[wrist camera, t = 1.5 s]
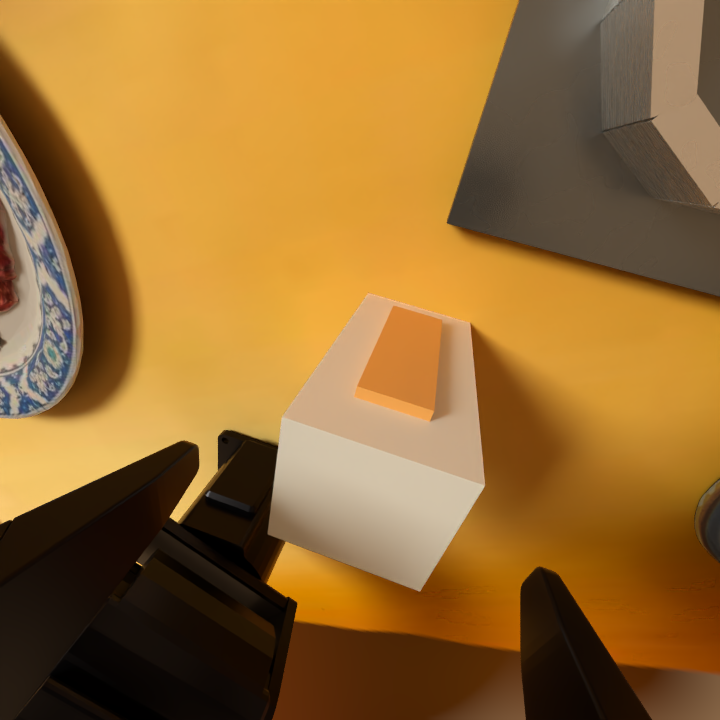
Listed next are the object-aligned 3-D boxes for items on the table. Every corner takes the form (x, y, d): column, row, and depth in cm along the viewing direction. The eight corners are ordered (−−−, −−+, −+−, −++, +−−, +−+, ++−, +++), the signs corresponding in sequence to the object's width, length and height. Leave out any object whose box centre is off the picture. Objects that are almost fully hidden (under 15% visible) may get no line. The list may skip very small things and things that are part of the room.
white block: (435, 404, 17) (419, 591, 10) (348, 376, 18) (267, 534, 10) (473, 315, 15) (492, 474, 7) (370, 285, 15) (283, 404, 8)
